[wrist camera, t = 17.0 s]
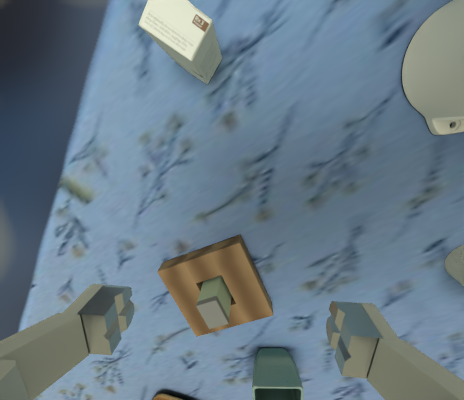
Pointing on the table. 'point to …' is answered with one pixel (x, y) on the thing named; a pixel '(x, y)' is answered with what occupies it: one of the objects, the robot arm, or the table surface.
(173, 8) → the skincare box
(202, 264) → the walnut slot block
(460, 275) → the coffee cup
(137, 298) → the table surface
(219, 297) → the keyed peg
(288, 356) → the flower pot
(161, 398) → the stone cup
